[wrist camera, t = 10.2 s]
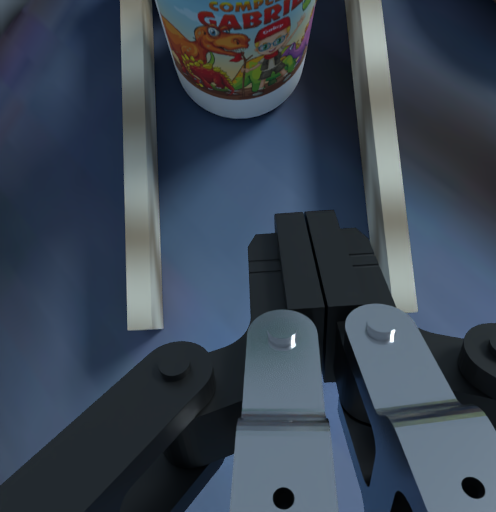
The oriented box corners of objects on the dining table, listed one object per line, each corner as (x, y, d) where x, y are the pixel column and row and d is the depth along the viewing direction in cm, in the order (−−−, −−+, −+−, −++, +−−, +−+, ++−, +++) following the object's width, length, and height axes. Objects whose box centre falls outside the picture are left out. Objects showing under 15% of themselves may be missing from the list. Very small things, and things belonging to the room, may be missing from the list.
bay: (399, 313, 26) (421, 311, 23) (141, 330, 26) (124, 330, 23) (359, -37, 29) (374, -86, 26) (132, -22, 29) (116, -69, 26)
